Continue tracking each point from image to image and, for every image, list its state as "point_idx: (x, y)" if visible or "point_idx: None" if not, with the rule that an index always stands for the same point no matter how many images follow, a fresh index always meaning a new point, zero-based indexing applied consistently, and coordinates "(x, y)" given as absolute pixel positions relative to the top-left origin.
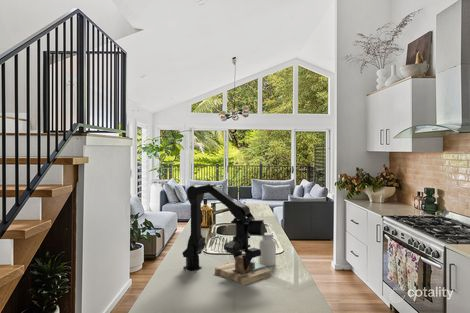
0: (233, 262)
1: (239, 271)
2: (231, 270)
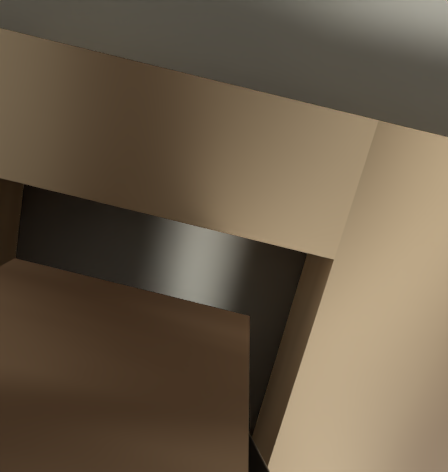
0: None
1: (94, 280)
2: (335, 279)
